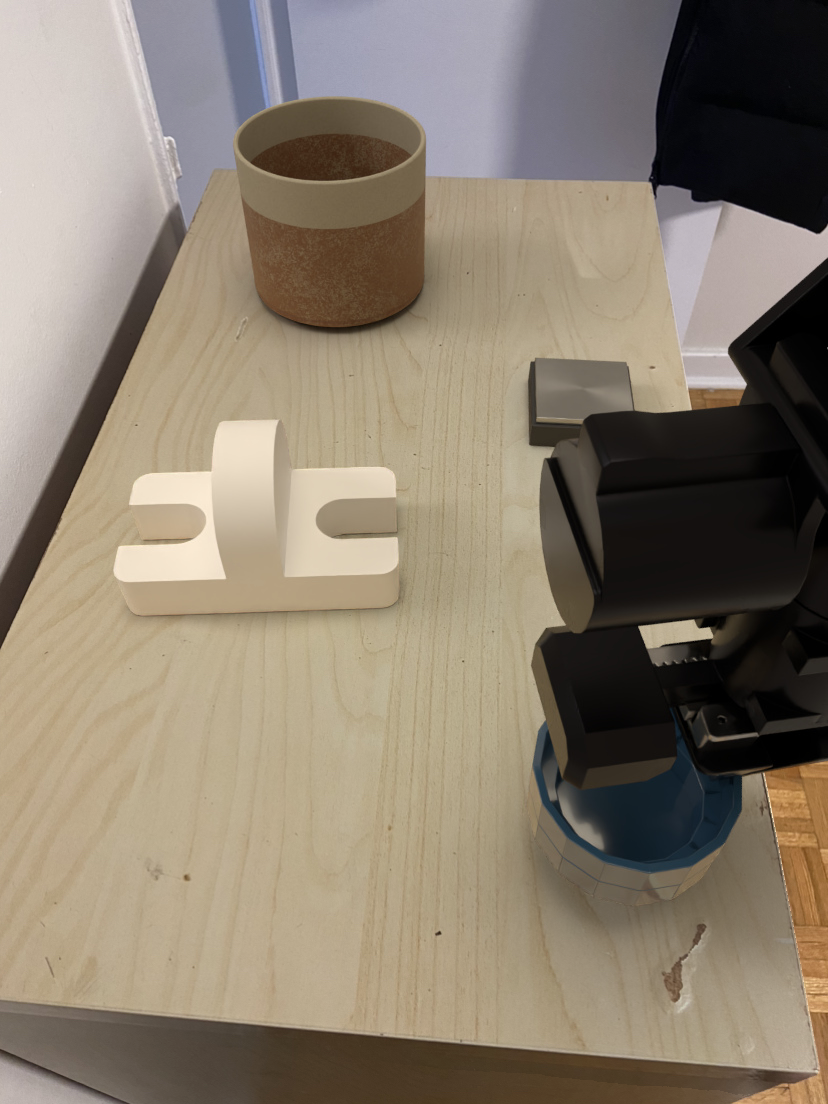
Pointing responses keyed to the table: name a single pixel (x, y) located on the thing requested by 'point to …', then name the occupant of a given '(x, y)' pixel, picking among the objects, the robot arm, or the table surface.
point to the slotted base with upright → (260, 533)
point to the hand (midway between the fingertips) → (718, 769)
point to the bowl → (631, 827)
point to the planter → (334, 208)
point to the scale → (573, 395)
